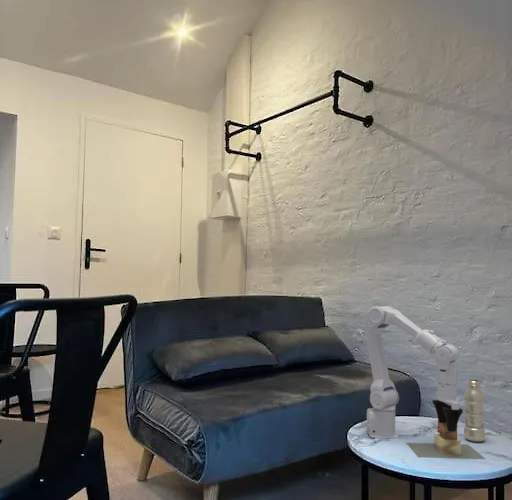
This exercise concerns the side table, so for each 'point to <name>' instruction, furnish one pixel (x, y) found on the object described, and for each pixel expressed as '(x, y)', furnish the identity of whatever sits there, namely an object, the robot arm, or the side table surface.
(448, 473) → the side table surface
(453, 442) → the birch base block
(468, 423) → the plastic bottle
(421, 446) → the grey flat rectangular panel
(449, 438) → the walnut block
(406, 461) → the side table surface
